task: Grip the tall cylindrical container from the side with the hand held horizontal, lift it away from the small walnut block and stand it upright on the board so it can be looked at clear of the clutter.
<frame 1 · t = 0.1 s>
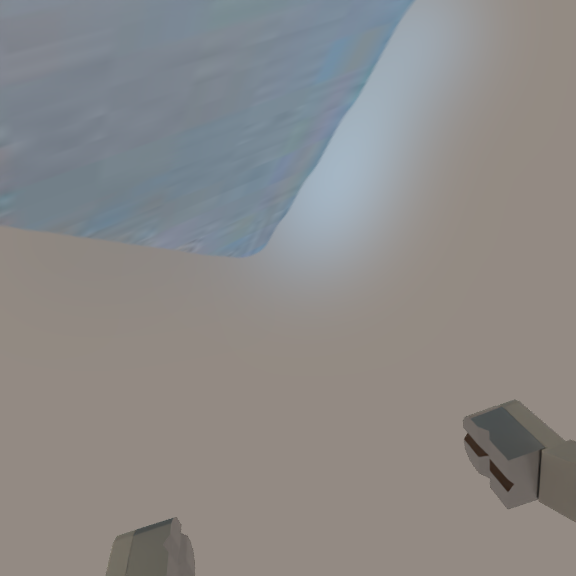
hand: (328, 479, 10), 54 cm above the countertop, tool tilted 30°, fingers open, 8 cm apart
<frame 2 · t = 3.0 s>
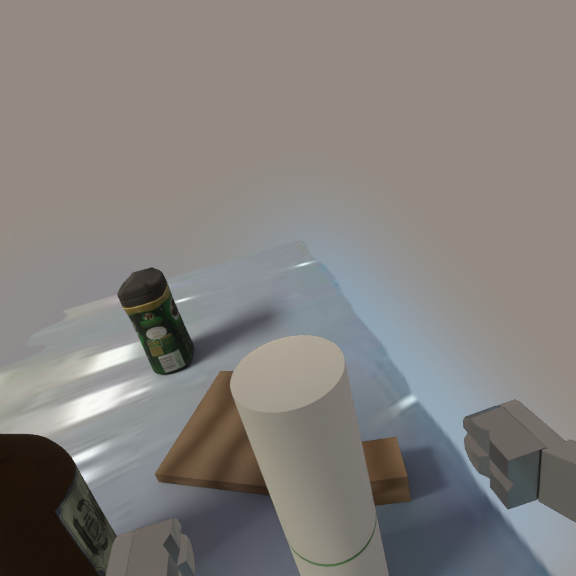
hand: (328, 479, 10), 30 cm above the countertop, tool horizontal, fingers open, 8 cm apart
walnut block: (382, 483, 43), on the countertop
coffee jar: (175, 361, 75), on the countertop
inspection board: (255, 425, 55), on the countertop
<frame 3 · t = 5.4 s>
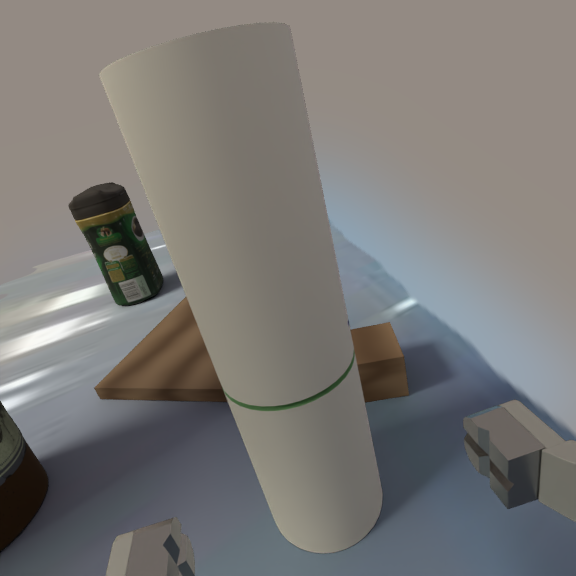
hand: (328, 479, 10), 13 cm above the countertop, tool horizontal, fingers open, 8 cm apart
walnut block: (372, 381, 33), on the countertop
cylindrical container: (326, 496, 25), on the countertop
coffee jar: (141, 294, 66), on the countertop
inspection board: (223, 340, 46), on the countertop
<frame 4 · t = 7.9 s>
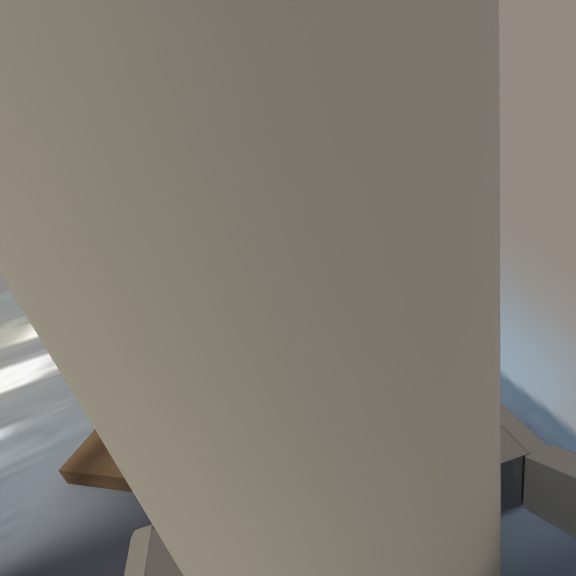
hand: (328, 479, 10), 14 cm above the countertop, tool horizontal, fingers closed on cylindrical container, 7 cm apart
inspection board: (227, 397, 36), on the countertop
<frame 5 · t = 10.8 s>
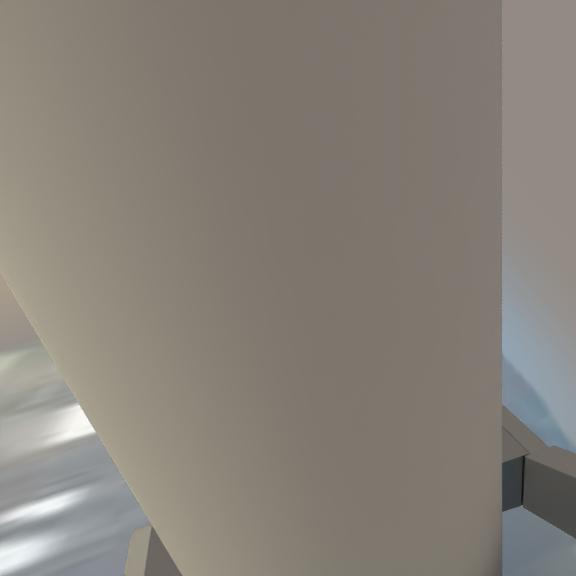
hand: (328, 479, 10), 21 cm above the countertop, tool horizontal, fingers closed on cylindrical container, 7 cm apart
when the fingers open (16 cm above the countertop, at t = 13.9 s): cylindrical container drops 1 cm, resting on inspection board.
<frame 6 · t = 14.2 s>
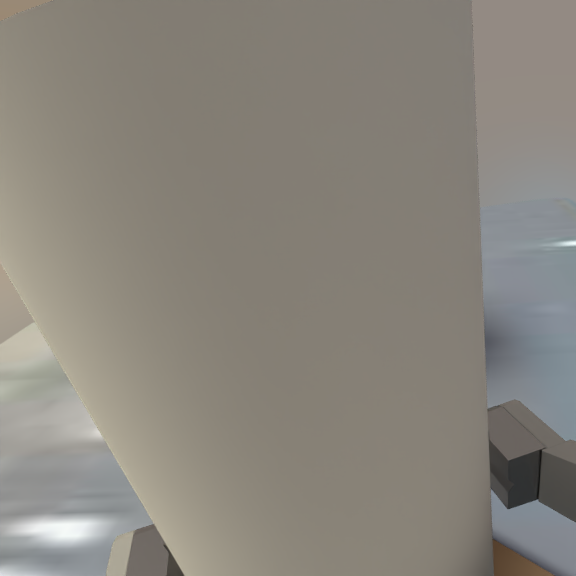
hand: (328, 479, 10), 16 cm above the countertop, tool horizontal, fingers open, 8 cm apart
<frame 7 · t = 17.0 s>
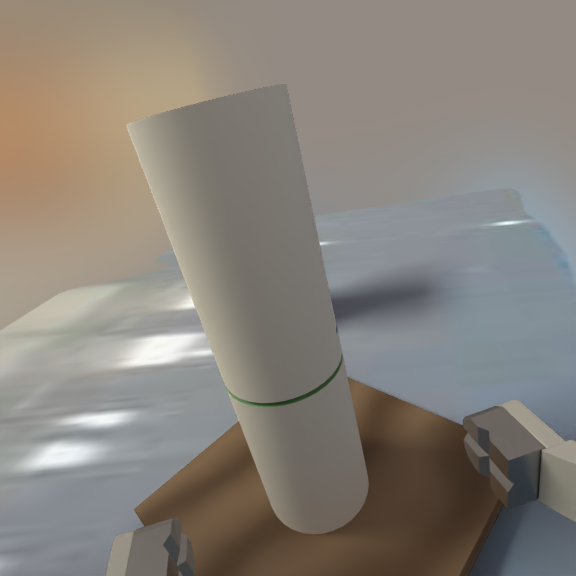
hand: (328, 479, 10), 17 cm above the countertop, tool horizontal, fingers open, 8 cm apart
cylindrical container: (318, 485, 28), point 1 cm above the countertop, touching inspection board
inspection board: (322, 495, 28), on the countertop
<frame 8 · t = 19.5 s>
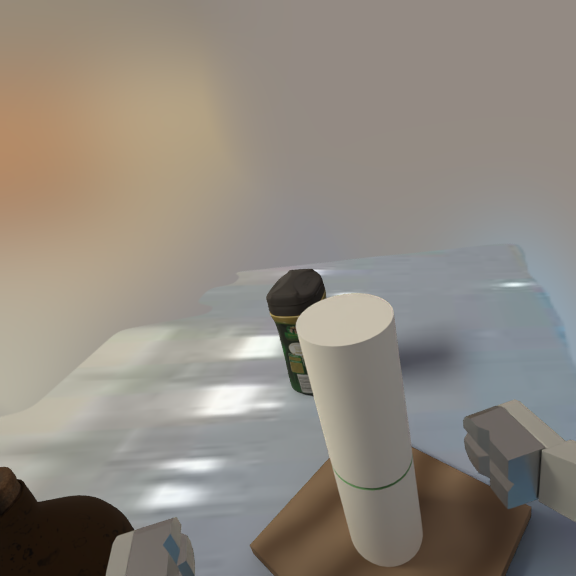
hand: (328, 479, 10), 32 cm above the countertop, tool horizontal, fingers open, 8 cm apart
cylindrical container: (385, 529, 39), point 1 cm above the countertop, touching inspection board
coffee jar: (317, 378, 64), on the countertop
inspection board: (386, 535, 40), on the countertop
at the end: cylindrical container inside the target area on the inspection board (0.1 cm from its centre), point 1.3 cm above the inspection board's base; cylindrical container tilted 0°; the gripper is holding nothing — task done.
